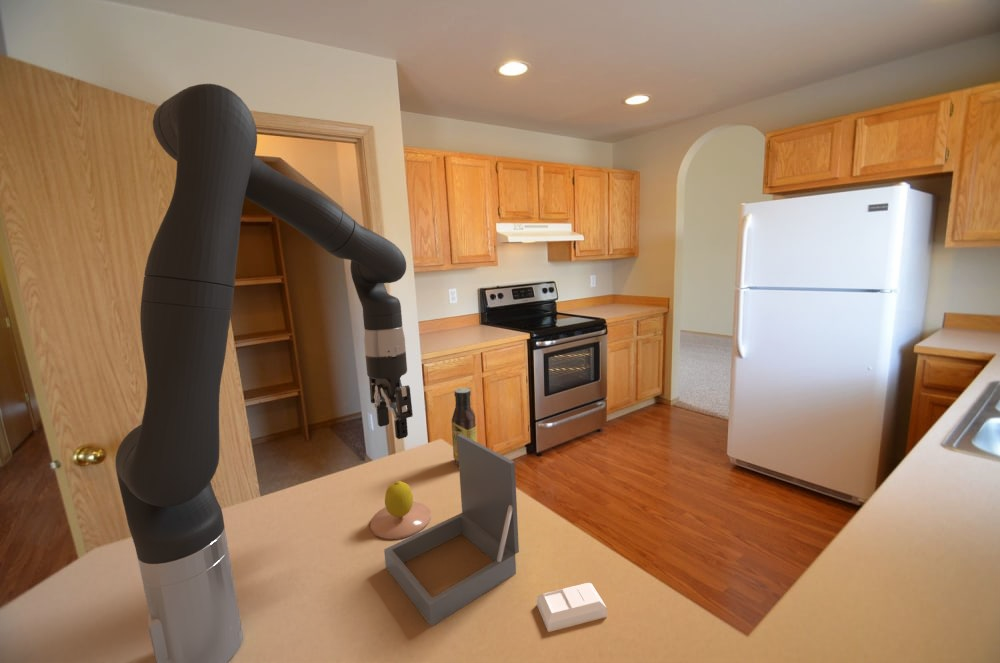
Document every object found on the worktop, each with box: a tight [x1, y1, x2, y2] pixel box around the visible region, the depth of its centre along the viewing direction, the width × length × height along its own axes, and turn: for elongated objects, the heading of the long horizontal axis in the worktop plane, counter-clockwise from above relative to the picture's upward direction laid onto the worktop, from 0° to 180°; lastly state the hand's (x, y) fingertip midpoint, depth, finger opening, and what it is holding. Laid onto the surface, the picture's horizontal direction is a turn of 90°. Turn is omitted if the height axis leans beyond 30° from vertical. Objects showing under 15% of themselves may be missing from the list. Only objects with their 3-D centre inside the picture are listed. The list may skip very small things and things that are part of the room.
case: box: [383, 434, 520, 628], centre depth 70 cm, size 17×16×20 cm
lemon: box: [384, 480, 414, 518], centre depth 86 cm, size 6×6×8 cm
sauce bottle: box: [451, 387, 478, 467], centre depth 109 cm, size 7×6×20 cm
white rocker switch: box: [536, 582, 608, 633], centre depth 62 cm, size 5×9×3 cm, turn 104°
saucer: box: [370, 501, 432, 540], centre depth 86 cm, size 12×12×1 cm
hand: (392, 431), depth 83 cm, fingers open, 8 cm apart
